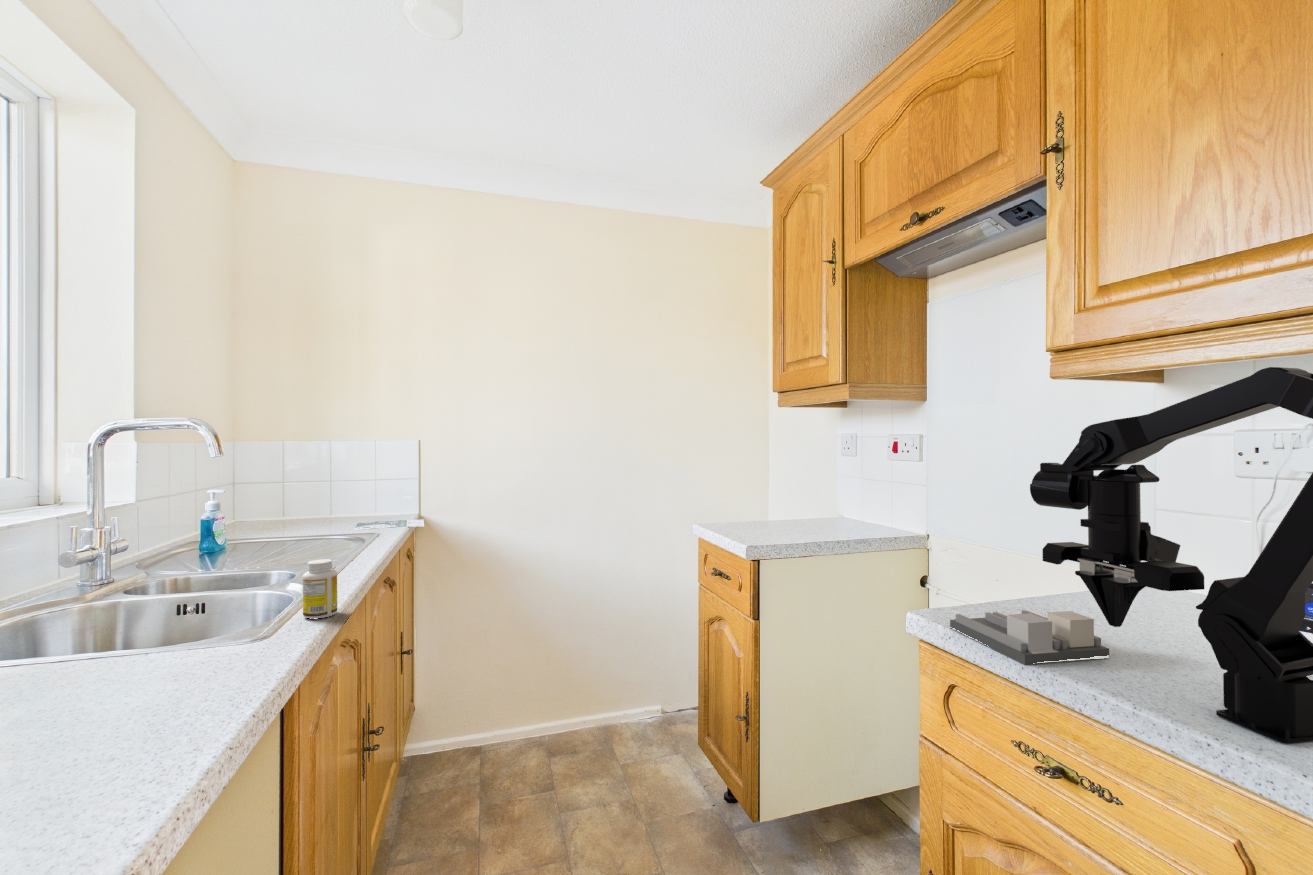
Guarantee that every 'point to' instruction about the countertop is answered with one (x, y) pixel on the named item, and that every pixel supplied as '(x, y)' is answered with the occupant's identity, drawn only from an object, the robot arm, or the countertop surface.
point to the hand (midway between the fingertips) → (1115, 625)
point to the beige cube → (1073, 628)
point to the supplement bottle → (320, 589)
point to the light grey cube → (1030, 631)
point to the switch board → (996, 637)
